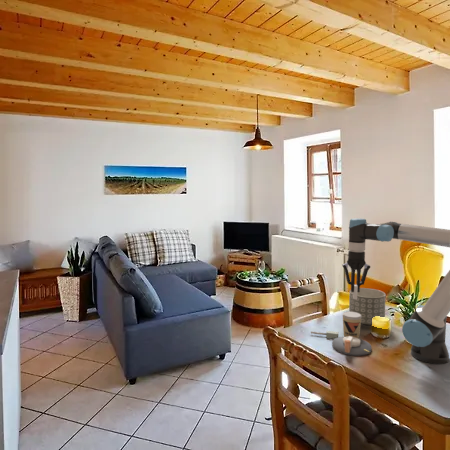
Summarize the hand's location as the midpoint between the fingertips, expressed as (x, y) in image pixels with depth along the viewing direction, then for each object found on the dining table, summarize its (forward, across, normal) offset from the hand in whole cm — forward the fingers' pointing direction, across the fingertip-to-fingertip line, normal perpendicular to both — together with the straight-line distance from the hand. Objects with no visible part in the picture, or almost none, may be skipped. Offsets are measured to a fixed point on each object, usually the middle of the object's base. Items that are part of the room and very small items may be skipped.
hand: (354, 298), depth 173 cm
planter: (+24, -14, -30) cm, 41 cm away
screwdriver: (+24, +12, -9) cm, 28 cm away
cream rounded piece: (+22, +3, +6) cm, 23 cm away
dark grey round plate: (+24, +1, +2) cm, 24 cm away
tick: (+22, -4, +9) cm, 24 cm away
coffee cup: (+24, -1, -11) cm, 27 cm away
